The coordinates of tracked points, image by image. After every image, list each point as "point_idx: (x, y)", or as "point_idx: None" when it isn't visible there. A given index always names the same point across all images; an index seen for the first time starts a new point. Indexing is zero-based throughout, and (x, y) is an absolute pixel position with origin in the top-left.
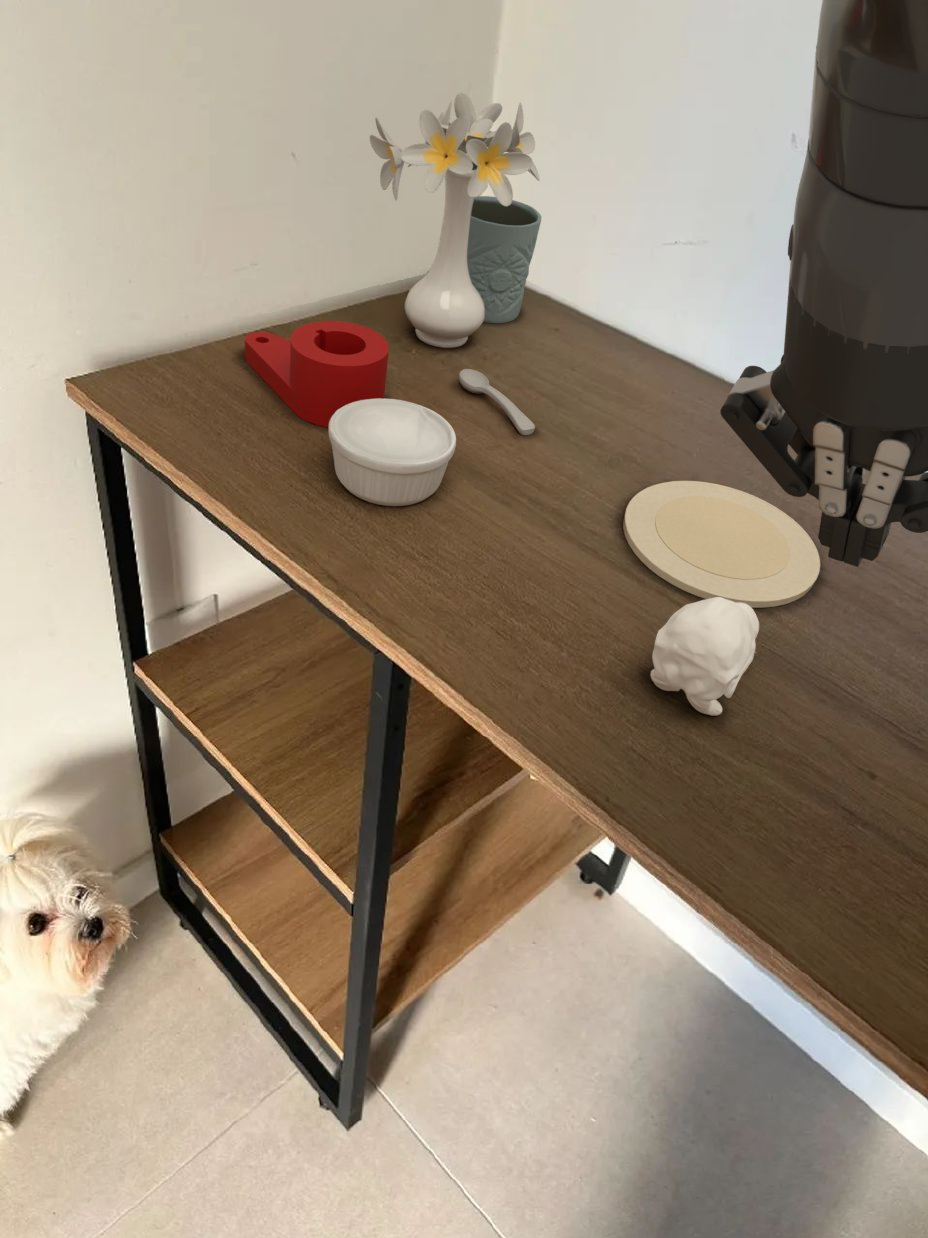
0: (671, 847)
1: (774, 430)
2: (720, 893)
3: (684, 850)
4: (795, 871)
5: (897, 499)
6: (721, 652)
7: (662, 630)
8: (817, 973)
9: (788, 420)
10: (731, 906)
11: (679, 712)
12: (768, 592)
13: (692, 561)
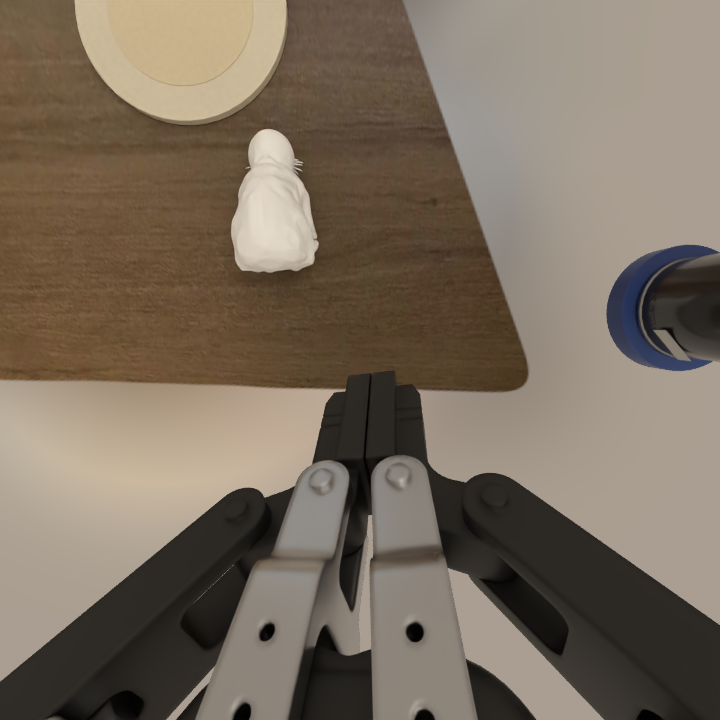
0: None
1: (153, 700)
2: None
3: None
4: (429, 331)
5: (446, 562)
6: (292, 258)
7: (237, 261)
8: (472, 388)
9: (148, 663)
10: None
11: None
12: (263, 57)
13: (187, 81)
